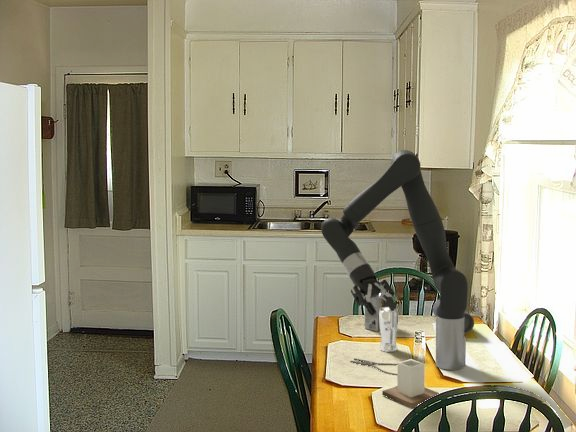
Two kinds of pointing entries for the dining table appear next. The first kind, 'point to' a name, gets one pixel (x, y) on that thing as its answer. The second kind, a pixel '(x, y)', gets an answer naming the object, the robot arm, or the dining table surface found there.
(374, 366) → the pliers
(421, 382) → the sleeve
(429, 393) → the post stand
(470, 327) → the bluetooth speaker
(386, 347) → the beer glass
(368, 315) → the coffee box
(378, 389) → the dining table surface
